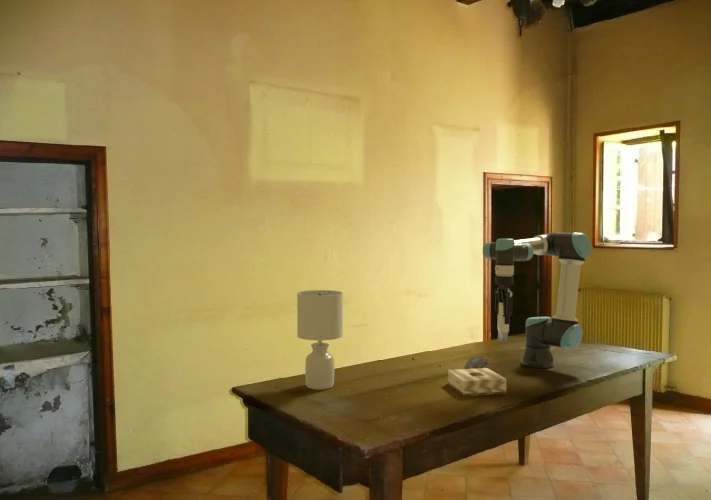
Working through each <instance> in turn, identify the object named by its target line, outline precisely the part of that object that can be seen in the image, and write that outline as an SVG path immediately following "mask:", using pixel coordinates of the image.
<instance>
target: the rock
mask: <svg viewBox="0 0 711 500" xmlns="http://www.w3.org/2000/svg"><path fill="white" fill-rule="evenodd" d="M478 368H488V369H490V364H489V361H488V359H487V358H484V356H481V355H477V356H473V357H471V358H470V359H468V360H467V361H466V363H465V366H464V369H478ZM490 370H491V369H490Z"/></svg>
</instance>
